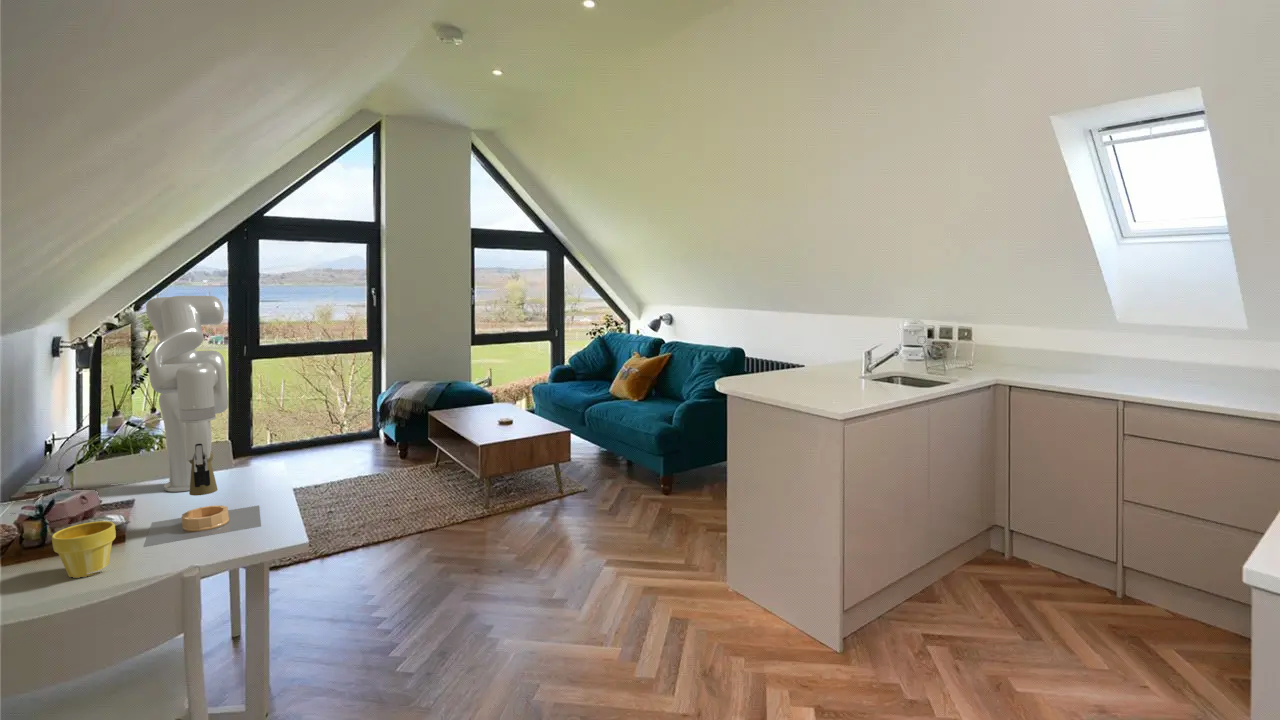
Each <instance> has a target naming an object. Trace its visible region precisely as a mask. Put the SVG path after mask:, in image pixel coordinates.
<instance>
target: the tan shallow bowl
mask: <svg viewBox="0 0 1280 720" xmlns="http://www.w3.org/2000/svg"><path fill="white" fill-rule="evenodd" d="M228 510H229V507H228V506H225V505H208V506H207V505H206V506H201V507H197V508H193V509H190V510H188V511H186V512H184V513H183V514H181V518H182V527H183V530H184V531H187V532H200V531H207V530H212V529H215V528H218V527H221V526H223V525H225V524H227V523H228V522H229V514H228Z"/></svg>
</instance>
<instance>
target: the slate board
mask: <svg viewBox="0 0 1280 720" xmlns="http://www.w3.org/2000/svg"><path fill="white" fill-rule="evenodd" d="M228 514H229V522H228V523H227V524H225V525H223V526H221V527H218V528H215V529H212V530H207V531H200V532H187V531H184V530H183V527H182V517H178V518H172V519H166V520H159V521H153V522H151V525H150V527H149V530H148V534H147V536H146V539H145V542H144V545H143V548H146V547H153V546H158V545H163V544H170V543H174V542H175V543H176V542H180V541H186V540H191V539H199V538H202V537H203V538H204V537H210V536H215V535H219V534H225V533H230V532H238V531H243V530H247V529H248V530H249V529H255V528H259V527H262V521H261V519H262V518H261V510H260V505H252V506H246V507H240V508H234V509H228Z"/></svg>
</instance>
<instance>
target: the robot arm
mask: <svg viewBox="0 0 1280 720" xmlns="http://www.w3.org/2000/svg"><path fill="white" fill-rule="evenodd" d="M145 305H146V306H145V311H146V314H147V318H148V321H149V322H150V324H151V326H152V327H153V330H154V331H155V332H156V334H157V337H158V340H159V341H158V342H157V343H156V344H155V345H154V346H153V347H152V349H151V351H150V353H149V355H148V358H147V363H148V364H147V366H148V374H149V376H148V377H149V382H150V386H151V388H152V389H153V391H154V392H155V393H158V394H160V395H159V397H158V404H159V409H160V412H161V415H162V420H163V427H164V432H165V441H166V453H167V454H166V455H167V466H168V476H169V479H168V480H169V482H168V481H167V482H166V483H164V485H163V490H164V491H167V492H173V493H175V492H176V493H177V492H187V491H189V492H190V480H191V467H192V464H191V463H190V460H192V459H193V456H194V470H195V472H194V482H195V487H200V485H205V486H209V485H210V474H209V470H208V464H207V459H209V458H210V453H211V452H212V427H211V421H213V420H215V419H216V417H217V416H216V415H218V414H222V413H224V412H225V411H226V410H227V409H228V407H229V406H228V405H229V394H228V393H229V392H228V382H227V371H226V370H227V369H226V363H225V359H224V357H223V355H222V353H220V352H219V351H216V350H196V349H197V348H199V346H201V345H202V343H203V341H204V333H203V329H202V326H206V325H216V326H217V325H220V324H221V323H222V322H223V320H224V317H225V315H224V314H225V313H224V312H225V310H224V306H223V304H222V301H221V300H220V299H219V298H218V297H217V296H215V295H175V296H164V297H163V296H162V297H161V296H160V297H155V298H152V299H149V300H148V301H147V302H146V304H145ZM204 453H205V454H204ZM204 456H205V459H203V457H204ZM196 459H197V460H196ZM203 461H205V463H204V462H203Z"/></svg>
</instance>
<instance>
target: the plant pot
mask: <svg viewBox="0 0 1280 720" xmlns="http://www.w3.org/2000/svg"><path fill="white" fill-rule="evenodd" d="M116 532H117V531H116V524H115V522H114V521H107V520H102V521H101V520H99V521H90V522H89V521H88V522H84V523H80V524H74V525H71V526H68V527H66V528H62V529H60V530H58V531H56V532H54V533H53V534H52V536H51V541H52V542H51V544H52V548H53V551H54V552H55V553H57V554H58V556H59V558H60V560H61V562H62V565H63V567H64V569H65V570H66V574H67V575H68V577H69V578H71V577H73V578H72V579H80V577H83V578H88V577H92V576H95V574H96V575H97V574H101V573H103V572H102V571H103V568H106V567H107V566H108V565H109V564H110V560H111V552H112V544H113V542H114V540H115V539H116V537H117V536H116V535H117V533H116ZM99 570H101V571H99ZM100 572H101V573H100ZM87 576H88V577H87Z"/></svg>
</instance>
